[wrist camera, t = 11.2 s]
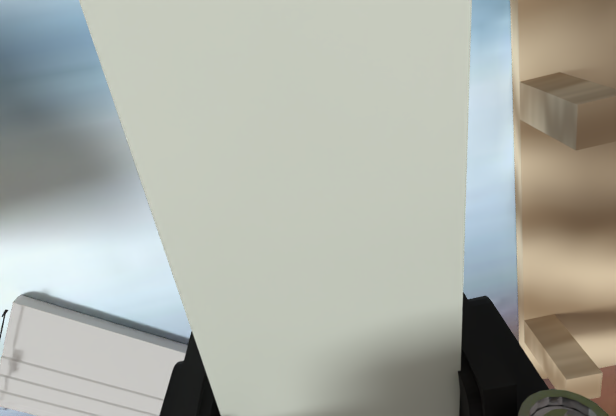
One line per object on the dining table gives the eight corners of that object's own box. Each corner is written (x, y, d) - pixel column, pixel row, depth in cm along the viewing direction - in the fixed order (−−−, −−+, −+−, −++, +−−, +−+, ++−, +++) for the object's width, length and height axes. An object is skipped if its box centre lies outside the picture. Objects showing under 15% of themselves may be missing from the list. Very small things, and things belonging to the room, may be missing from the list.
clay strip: (99, -290, 6) (-143, -649, 3) (374, -337, 6) (495, -769, 3) (300, 505, 15) (304, 661, 12) (413, 490, 15) (452, 643, 12)
